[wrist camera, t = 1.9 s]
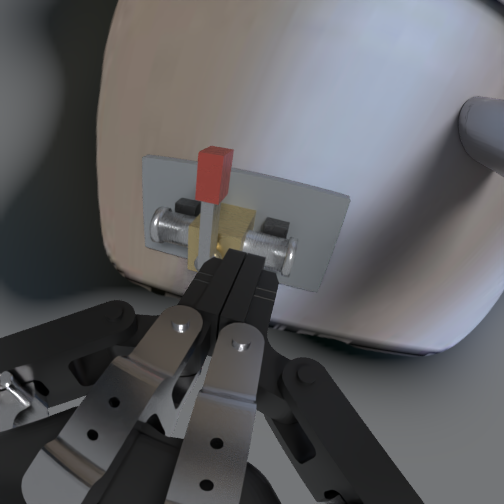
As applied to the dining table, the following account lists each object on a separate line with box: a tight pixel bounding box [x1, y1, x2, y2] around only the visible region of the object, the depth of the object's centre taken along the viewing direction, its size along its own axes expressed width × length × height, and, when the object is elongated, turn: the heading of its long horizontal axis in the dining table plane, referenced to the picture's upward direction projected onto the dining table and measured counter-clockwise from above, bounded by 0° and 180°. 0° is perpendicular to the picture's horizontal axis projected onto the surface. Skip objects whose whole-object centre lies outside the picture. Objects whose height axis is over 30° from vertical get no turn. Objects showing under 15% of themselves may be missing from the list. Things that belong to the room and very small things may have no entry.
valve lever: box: [194, 146, 234, 272], centre depth 26 cm, size 14×3×3 cm, turn 172°
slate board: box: [142, 155, 350, 293], centre depth 37 cm, size 28×15×2 cm, turn 81°
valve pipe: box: [149, 198, 298, 278], centre depth 33 cm, size 18×6×8 cm, turn 81°
